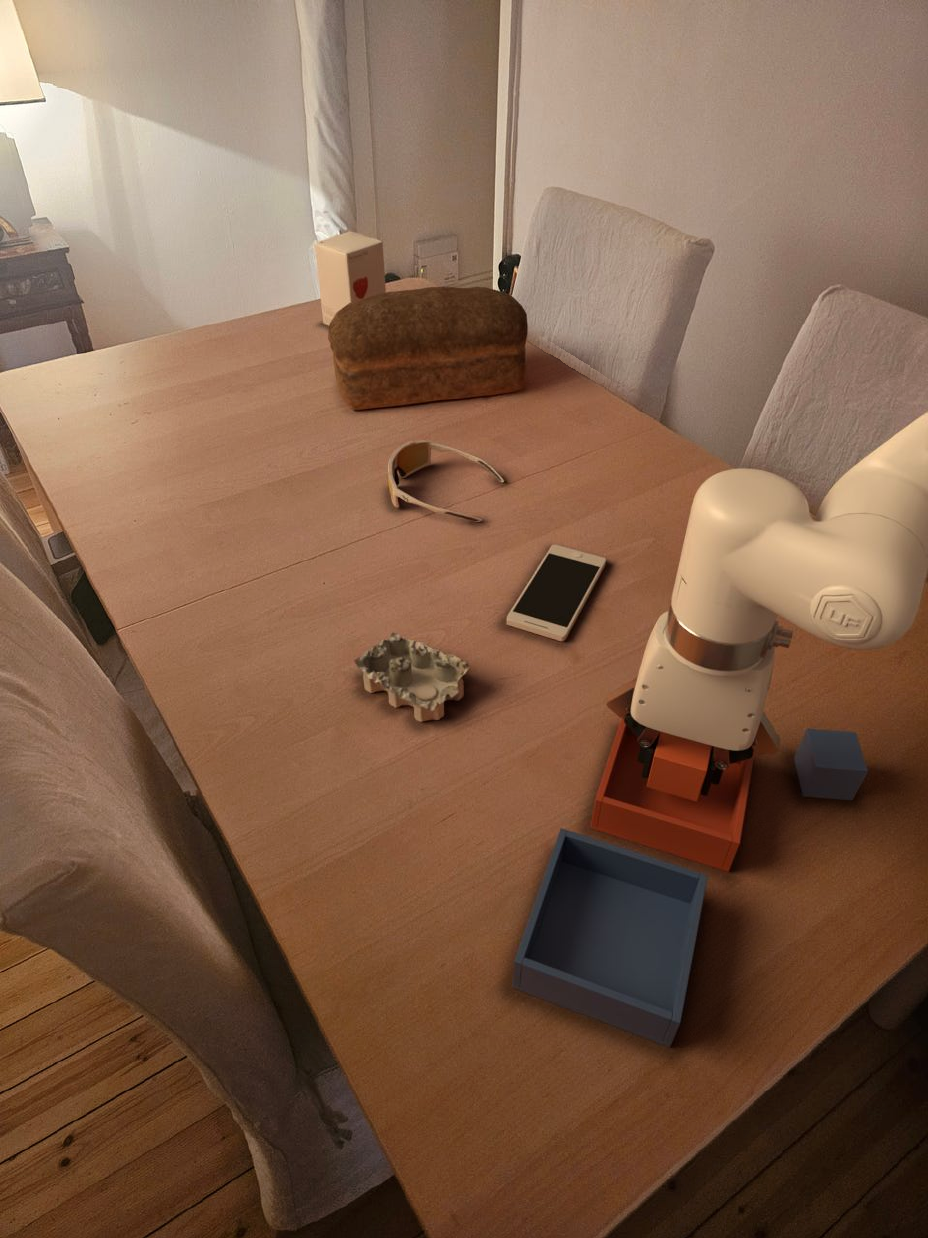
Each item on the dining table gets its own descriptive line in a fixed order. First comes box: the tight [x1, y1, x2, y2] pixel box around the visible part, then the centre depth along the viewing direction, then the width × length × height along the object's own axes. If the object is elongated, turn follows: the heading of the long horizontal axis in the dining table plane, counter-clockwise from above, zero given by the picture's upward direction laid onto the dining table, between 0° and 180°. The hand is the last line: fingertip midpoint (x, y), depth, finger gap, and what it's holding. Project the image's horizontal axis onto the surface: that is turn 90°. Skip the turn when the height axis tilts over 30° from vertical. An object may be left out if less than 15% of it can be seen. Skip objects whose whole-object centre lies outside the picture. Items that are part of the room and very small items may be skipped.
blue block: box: [793, 728, 869, 801], centre depth 76 cm, size 4×4×4 cm
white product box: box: [314, 230, 387, 327], centre depth 151 cm, size 9×9×15 cm
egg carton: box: [353, 632, 470, 723], centre depth 85 cm, size 11×8×4 cm
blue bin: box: [511, 827, 709, 1048], centre depth 64 cm, size 12×12×4 cm
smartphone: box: [505, 544, 607, 642], centre depth 97 cm, size 7×16×1 cm, turn 155°
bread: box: [327, 286, 529, 411], centre depth 132 cm, size 15×32×16 cm, turn 103°
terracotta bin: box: [590, 717, 755, 873], centre depth 75 cm, size 12×12×4 cm
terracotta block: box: [647, 732, 712, 802], centre depth 73 cm, size 4×4×4 cm
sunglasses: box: [387, 439, 505, 523], centre depth 113 cm, size 14×15×5 cm
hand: (676, 773), depth 74 cm, fingers closed on terracotta block, 4 cm apart
